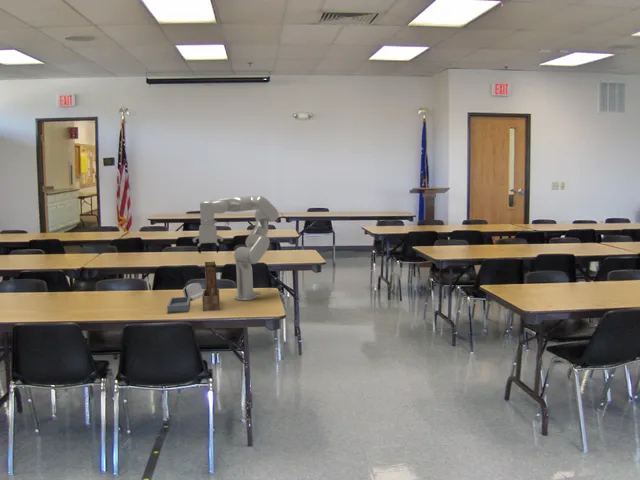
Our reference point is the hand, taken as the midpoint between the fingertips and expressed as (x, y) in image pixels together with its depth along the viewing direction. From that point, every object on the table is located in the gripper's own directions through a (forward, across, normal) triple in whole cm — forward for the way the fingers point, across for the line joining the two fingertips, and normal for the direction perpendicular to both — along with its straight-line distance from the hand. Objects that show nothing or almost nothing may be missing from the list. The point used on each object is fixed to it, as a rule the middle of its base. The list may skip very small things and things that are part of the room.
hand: (208, 253), depth 311 cm
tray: (+31, +18, 0) cm, 36 cm away
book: (+31, -1, 0) cm, 31 cm away
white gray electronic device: (+31, +11, -27) cm, 43 cm away
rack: (+31, 0, 0) cm, 31 cm away
